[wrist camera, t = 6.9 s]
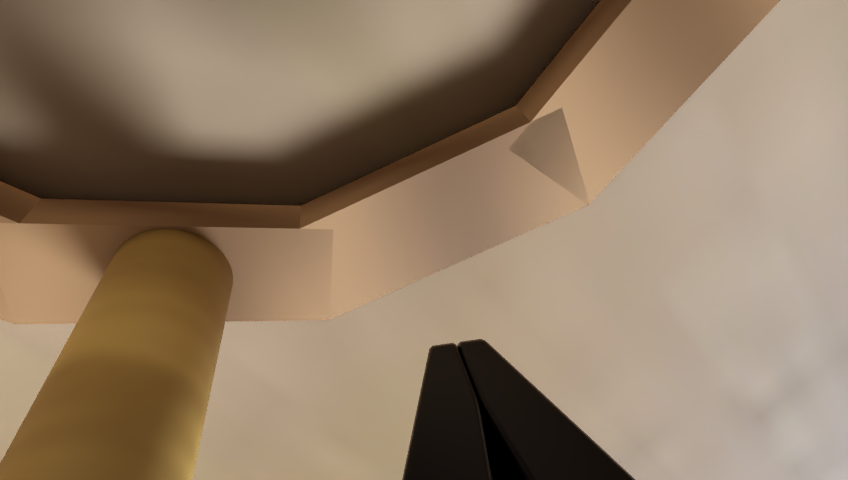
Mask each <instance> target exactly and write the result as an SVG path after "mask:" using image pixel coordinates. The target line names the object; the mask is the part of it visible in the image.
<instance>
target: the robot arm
mask: <svg viewBox="0 0 848 480" xmlns="http://www.w3.org/2000/svg"><path fill="white" fill-rule="evenodd" d="M402 480H635V479H634V478H633V477H632V476H631V475H630V474H629V473H628V472H627V471H626V470H624V469H623V468H622V467H621V466H620V465H619V464H618V463H617V462H616V461H615V460H614V459H613V458H611V457H610V456H609V455H608V454H607V453H606V452H605V451H604V450H603V449H602V448H601V447H600V446H599V445H597V444H596V443H595V442H594V441H593V440H592V439H591V438H590V437H589V436H588V435H587V434H586V433H584V432H583V431H582V430H581V429H580V428H579V427H578V426H577V425H576V424H575V423H574V422H573V421H572V420H570V419H569V418H568V417H567V416H566V415H565V414H564V413H563V412H562V411H561V410H560V409H559V408H557V407H556V406H555V405H554V404H553V403H552V402H551V401H550V400H549V399H548V398H547V397H546V396H545V395H543V394H542V393H541V392H540V391H539V390H538V389H537V388H536V387H535V386H534V385H533V384H532V383H530V382H529V381H528V380H527V379H526V378H525V377H524V376H523V375H522V374H521V373H520V372H519V371H518V370H516V369H515V368H514V367H513V366H512V365H511V364H510V363H509V362H508V361H507V360H506V359H505V358H504V357H502V356H501V355H500V354H499V353H498V352H497V351H496V350H495V349H494V348H493V347H492V346H491V345H489V344H488V343H487V342H486V341H485V340H482V339H477V340H470V341H463V342H460V343H459V344H458V345H456V344H454V343H449V344H442V345H435V346H432V347H431V348H430V349H429V353H428V358H427V363H426V368H425V373H424V378H423V382H422V387H421V392H420V397H419V402H418V407H417V412H416V416H415V421H414V426H413V431H412V436H411V441H410V445H409V450H408V455H407V460H406V465H405V470H404V475H403V479H402Z"/></svg>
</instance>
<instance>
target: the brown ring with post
mask: <svg viewBox="0 0 848 480" xmlns="http://www.w3.org/2000/svg"><path fill="white" fill-rule="evenodd" d="M779 1H780V0H601V1H600V2H599V3H598V4H597V5H596V7H595V8H594V9H593V10H592V12H591V13H590V14H589V15H588V17H587V18H586V19H585V20H584V22H583V23H582V24H581V25H580V27H579V28H578V29H577V30H576V32H575V33H574V34H573V35H572V36H571V38H570V39H569V40H568V41H567V43H566V44H565V45H564V46H563V48H562V49H561V50H560V51H559V53H558V54H557V55H556V56H555V58H554V59H553V60H552V61H551V63H550V64H549V65H548V66H547V67H546V69H545V70H544V71H543V72H542V74H541V75H540V76H539V77H538V79H537V80H536V81H535V82H534V84H533V85H532V86H531V87H530V89H529V90H528V91H527V92H526V94H525V95H524V96H523V97H522V99H521V100H520V101H519V102H518V103H517V105H516V106H514V107H512V108H510V109H507V110H505V111H503V112H501V113H499V114H497V115H495V116H492V117H490V118H488V119H486V120H484V121H482V122H479V123H477V124H475V125H473V126H471V127H469V128H467V129H464V130H462V131H460V132H458V133H456V134H454V135H452V136H449V137H447V138H445V139H443V140H441V141H439V142H437V143H434V144H432V145H430V146H428V147H426V148H424V149H422V150H419V151H417V152H415V153H413V154H411V155H409V156H407V157H404V158H402V159H400V160H398V161H396V162H394V163H391V164H389V165H387V166H385V167H383V168H381V169H379V170H376V171H374V172H372V173H370V174H368V175H366V176H364V177H361V178H359V179H357V180H355V181H353V182H351V183H349V184H346V185H344V186H342V187H340V188H338V189H336V190H334V191H331V192H329V193H327V194H325V195H323V196H321V197H319V198H316V199H314V200H312V201H310V202H308V203H306V204H304V205H301V206H293V205H256V204H219V203H183V202H146V201H110V200H73V199H41V198H38V197H36V196H34V195H31V194H29V193H27V192H24V191H22V190H20V189H18V188H15V187H13V186H11V185H8V184H6V183H4V182H1V181H0V319H1V320H4V321H7V322H10V323H13V324H65V323H77V324H76V326H75V328H74V329H73V331H72V333H71V335H70V337H69V339H68V340H67V342H66V344H65V346H64V348H63V350H62V351H61V353H60V355H59V357H58V359H57V361H56V362H55V364H54V366H53V368H52V370H51V372H50V373H49V375H48V377H47V379H46V381H45V383H44V384H43V386H42V388H41V390H40V392H39V394H38V395H37V397H36V399H35V401H34V403H33V405H32V406H31V408H30V410H29V412H28V414H27V416H26V417H25V419H24V421H23V423H22V425H21V426H20V428H19V430H18V432H17V434H16V436H15V437H14V439H13V441H12V443H11V445H10V447H9V448H8V450H7V452H6V454H5V456H4V458H3V459H2V461H1V463H0V480H192V477H193V473H194V468H195V463H196V458H197V453H198V449H199V444H200V439H201V434H202V429H203V425H204V420H205V415H206V410H207V406H208V401H209V396H210V391H211V386H212V382H213V377H214V372H215V367H216V363H217V358H218V353H219V348H220V343H221V339H222V334H223V329H224V324H225V321H286V320H330V319H332V318H334V317H336V316H339V315H341V314H343V313H345V312H348V311H350V310H352V309H354V308H357V307H359V306H361V305H363V304H366V303H368V302H370V301H372V300H375V299H377V298H379V297H381V296H384V295H386V294H388V293H390V292H393V291H395V290H397V289H399V288H402V287H404V286H406V285H408V284H411V283H413V282H415V281H417V280H420V279H422V278H424V277H426V276H429V275H431V274H433V273H435V272H438V271H440V270H442V269H444V268H447V267H449V266H451V265H453V264H456V263H458V262H460V261H462V260H465V259H467V258H469V257H472V256H474V255H476V254H478V253H481V252H483V251H485V250H487V249H490V248H492V247H494V246H496V245H499V244H501V243H503V242H505V241H508V240H510V239H512V238H514V237H517V236H519V235H521V234H523V233H526V232H528V231H530V230H532V229H535V228H537V227H539V226H541V225H544V224H546V223H548V222H550V221H553V220H555V219H557V218H559V217H562V216H564V215H566V214H568V213H571V212H573V211H575V210H577V209H580V208H582V207H584V206H586V205H589V204H590V203H591V202H592V201H593V200H594V198H595V197H596V196H597V195H598V194H599V193H600V192H601V191H602V190H603V189H604V188H605V187H606V186H607V185H608V184H609V182H610V181H611V180H612V179H613V178H614V177H615V176H616V175H617V174H618V173H619V172H620V171H621V170H622V169H623V168H624V166H625V165H626V164H627V163H628V162H629V161H630V160H631V159H632V158H633V157H634V156H635V155H636V154H637V153H638V152H639V150H640V149H641V148H642V147H643V146H644V145H645V144H646V143H647V142H648V141H649V140H650V139H651V138H652V137H653V136H654V134H655V133H656V132H657V131H658V130H659V129H660V128H661V127H662V126H663V125H664V124H665V123H666V122H667V121H668V119H669V118H670V117H671V116H672V115H673V114H674V113H675V112H676V111H677V110H678V109H679V108H680V107H681V106H682V105H683V103H684V102H685V101H686V100H687V99H688V98H689V97H690V96H691V95H692V94H693V93H694V92H695V91H696V90H697V89H698V87H699V86H700V85H701V84H702V83H703V82H704V81H705V80H706V79H707V78H708V77H709V76H710V75H711V74H712V73H713V71H714V70H715V69H716V68H717V67H718V66H719V65H720V64H721V63H722V62H723V61H724V60H725V59H726V58H727V57H728V55H729V54H730V53H731V52H732V51H733V50H734V49H735V48H736V47H737V46H738V45H739V44H740V43H741V42H742V40H743V39H744V38H745V37H746V36H747V35H748V34H749V33H750V32H751V31H752V30H753V29H754V28H755V27H756V26H757V24H758V23H759V22H760V21H761V20H762V19H763V18H764V17H765V16H766V15H767V14H768V13H769V12H770V11H771V10H772V8H773V7H774V6H775V5H776V4H777V3H778V2H779Z"/></svg>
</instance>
